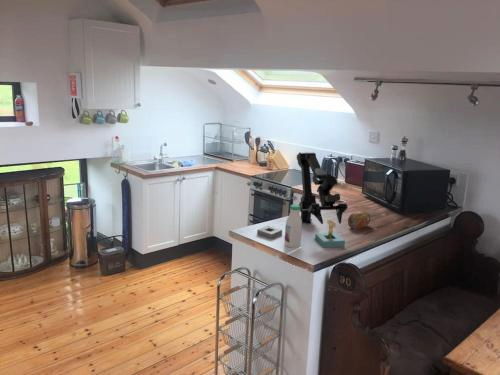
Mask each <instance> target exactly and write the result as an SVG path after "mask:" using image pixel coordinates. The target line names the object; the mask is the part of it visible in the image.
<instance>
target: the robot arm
mask: <svg viewBox="0 0 500 375" xmlns="http://www.w3.org/2000/svg"><path fill="white" fill-rule="evenodd" d="M296 160H297V164H298V166H299V168H300V170H301V180H302V181H301V183H302V185H301V186H302V195H301V197H300V201H299V204H298V205H299V206H300V211H299V213H300V217H301V220H302V223H309V224H312V221H313V220H312V219H313V218H312V216H313V217H315V218H316V219H317V221H318V222H319V223H320V224H321V225H324V220H323V216H322V212H321V211H333V210H335V212H336V213H335V214H336V219H337V221H338V223H339V225H341V223H342V218H343V214H344V213H345V212H346V210H348V208H349V206H348V203H346V202H339V203H338V201H340V200H341V194H340V193H335V194H331V191H332V190H333V189H334V188H335V186H336V185H337V183H338V181H337V178H336V177H335V176H333V175H332V173H327V172H326V171H325V170H324V169H322V167H321V165H320V162H319V160H318V158H317V154H316V152H313V151H312V152H310V151H309V152H307V151H303V152H302V151H299V153H298V154H296ZM311 172H312V174H313V176H312V178H311ZM312 182H313V184H314V185H315V186H318V187H317V189H316V192H317V193H318V197H319V201H318V202H317V200H316V195H314V194H313V192H312ZM336 202H337V203H338V204H337V205H335V204H336Z"/></svg>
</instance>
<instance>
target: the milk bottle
mask: <svg viewBox="0 0 500 375" xmlns="http://www.w3.org/2000/svg"><path fill="white" fill-rule="evenodd" d="M289 210H290V211H289V214H288V217H287V218H286V221H285V228H284V229H285V231H284V246H285V247H288V248H291V249H295V248H300V247H301V243H302V234H303V233H302V231H303V222H302V220H301V212H300V206H299V204H290V207H289Z"/></svg>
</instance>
